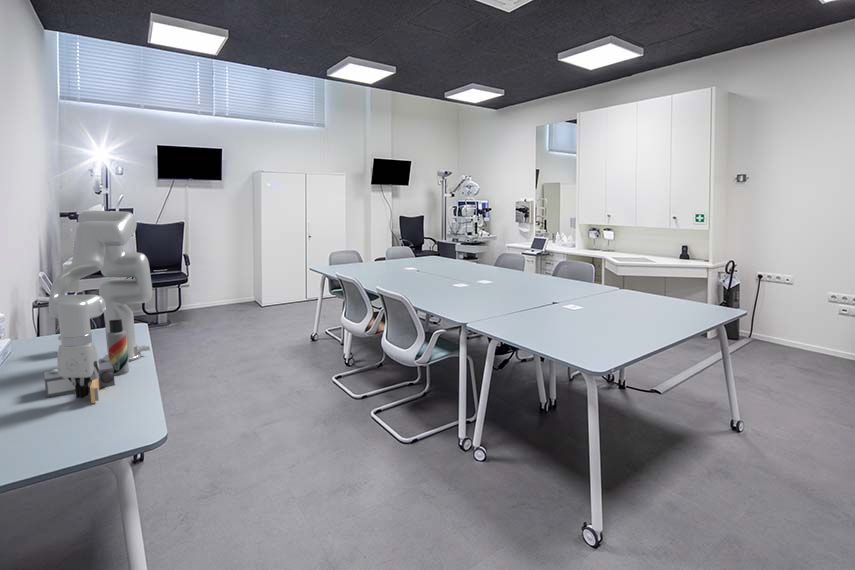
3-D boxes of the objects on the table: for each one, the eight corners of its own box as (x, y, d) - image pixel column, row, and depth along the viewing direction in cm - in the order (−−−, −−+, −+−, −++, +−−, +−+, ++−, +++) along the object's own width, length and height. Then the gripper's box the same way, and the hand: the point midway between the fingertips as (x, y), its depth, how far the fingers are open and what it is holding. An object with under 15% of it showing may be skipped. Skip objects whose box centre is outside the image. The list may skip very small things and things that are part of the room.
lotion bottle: (109, 376, 166) (104, 321, 163) (111, 371, 171) (106, 318, 168) (128, 374, 169) (124, 320, 165) (130, 369, 174) (125, 316, 170)
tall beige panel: (94, 388, 154) (93, 373, 154) (102, 387, 155) (100, 372, 155) (90, 403, 143) (89, 387, 142) (98, 402, 144) (97, 386, 143)
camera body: (111, 377, 165) (110, 359, 163) (115, 386, 157) (113, 366, 156) (46, 389, 153) (43, 369, 152) (46, 398, 146) (44, 378, 145)
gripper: (42, 342, 139) (49, 400, 142) (91, 344, 139) (97, 402, 142) (62, 335, 146) (68, 390, 150) (109, 337, 146) (114, 392, 149)
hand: (82, 396), depth 146 cm, fingers closed
